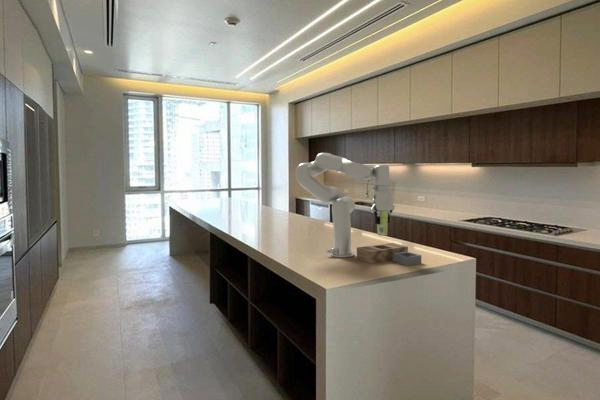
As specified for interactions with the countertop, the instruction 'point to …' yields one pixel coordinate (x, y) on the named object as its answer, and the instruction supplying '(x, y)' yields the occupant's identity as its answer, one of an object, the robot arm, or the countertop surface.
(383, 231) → the tube
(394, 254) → the frame
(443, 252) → the countertop surface
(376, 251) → the port block
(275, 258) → the countertop surface
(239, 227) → the countertop surface
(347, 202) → the robot arm
